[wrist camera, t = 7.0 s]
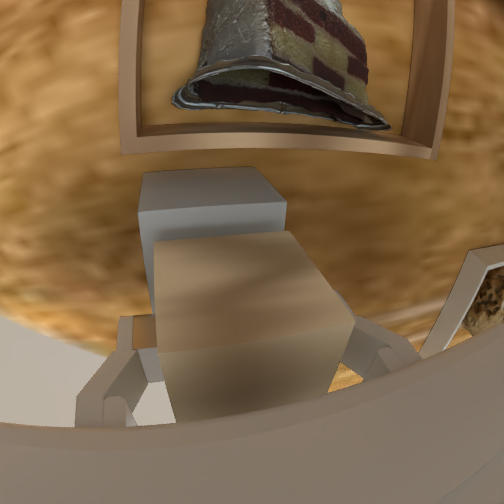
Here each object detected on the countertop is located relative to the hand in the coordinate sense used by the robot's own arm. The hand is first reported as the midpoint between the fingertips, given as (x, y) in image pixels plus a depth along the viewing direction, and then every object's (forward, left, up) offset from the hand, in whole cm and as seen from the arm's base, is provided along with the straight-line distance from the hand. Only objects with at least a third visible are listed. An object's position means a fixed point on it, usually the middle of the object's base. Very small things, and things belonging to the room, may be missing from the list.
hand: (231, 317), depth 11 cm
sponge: (-40, +14, -8) cm, 43 cm away
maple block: (0, 0, -2) cm, 2 cm away
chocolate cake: (-5, -10, -9) cm, 14 cm away
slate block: (0, 0, -8) cm, 8 cm away
